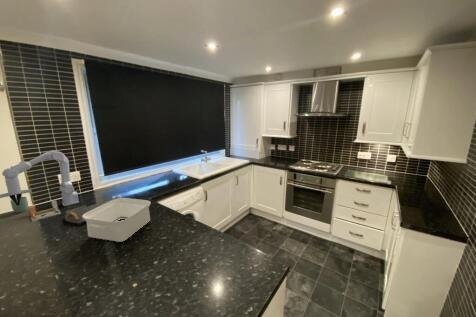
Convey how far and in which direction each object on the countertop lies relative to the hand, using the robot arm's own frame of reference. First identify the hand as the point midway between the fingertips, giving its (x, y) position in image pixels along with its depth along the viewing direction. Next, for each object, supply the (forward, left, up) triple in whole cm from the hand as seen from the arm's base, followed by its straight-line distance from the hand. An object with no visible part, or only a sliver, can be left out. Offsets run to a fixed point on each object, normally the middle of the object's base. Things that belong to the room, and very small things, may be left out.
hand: (18, 204), depth 130 cm
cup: (0, -15, -10) cm, 18 cm away
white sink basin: (-40, +68, -10) cm, 80 cm away
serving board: (-38, +29, -11) cm, 49 cm away
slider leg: (-6, +3, -10) cm, 12 cm away
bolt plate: (-12, +8, -10) cm, 17 cm away
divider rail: (-12, +3, -10) cm, 16 cm away
